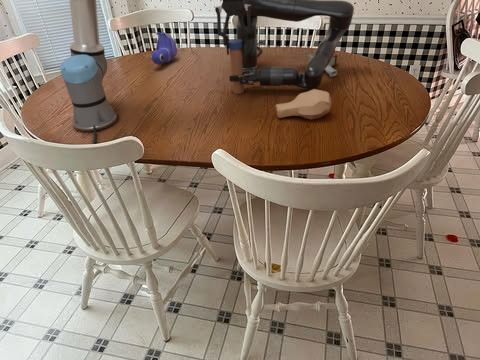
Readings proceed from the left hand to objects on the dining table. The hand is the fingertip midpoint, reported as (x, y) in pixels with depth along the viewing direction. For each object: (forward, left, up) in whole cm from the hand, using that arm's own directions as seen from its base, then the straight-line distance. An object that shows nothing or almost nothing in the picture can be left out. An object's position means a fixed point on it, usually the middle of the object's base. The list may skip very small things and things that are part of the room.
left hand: (235, 53), depth 141 cm
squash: (-26, -24, -16) cm, 39 cm away
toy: (+41, +39, -16) cm, 59 cm away
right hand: (0, +3, -9) cm, 10 cm away
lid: (0, 0, +4) cm, 4 cm away
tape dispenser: (+22, -40, -16) cm, 49 cm away
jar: (0, 0, -16) cm, 16 cm away
